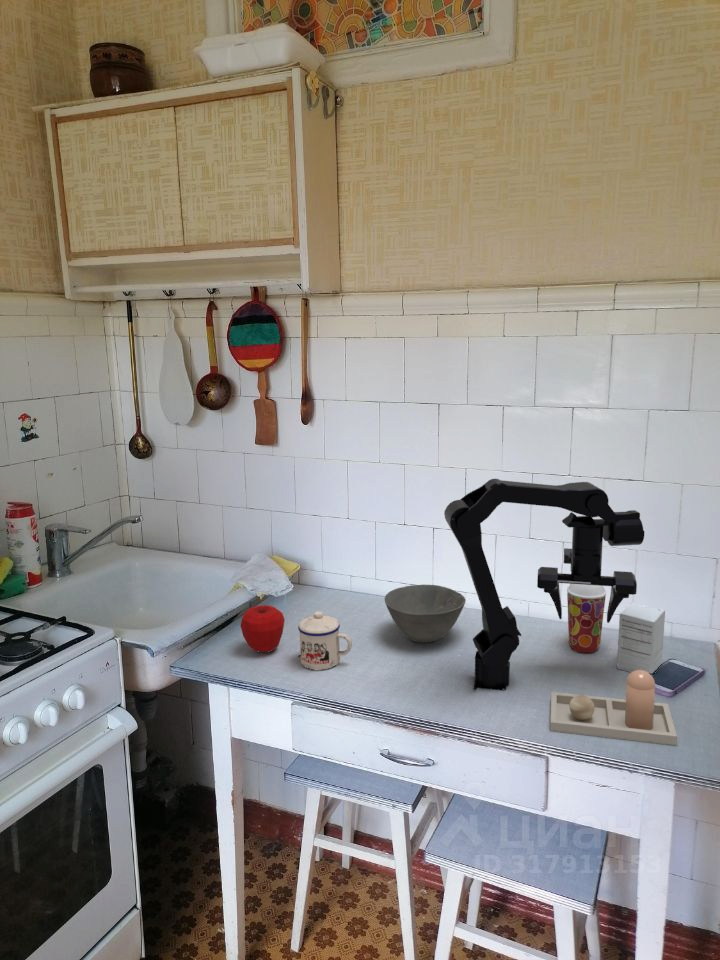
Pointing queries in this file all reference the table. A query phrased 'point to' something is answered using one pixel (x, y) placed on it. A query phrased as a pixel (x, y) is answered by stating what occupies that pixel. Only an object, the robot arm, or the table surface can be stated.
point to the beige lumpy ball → (581, 707)
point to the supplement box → (640, 638)
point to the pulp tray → (610, 720)
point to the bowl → (424, 610)
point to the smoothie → (585, 616)
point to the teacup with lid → (321, 641)
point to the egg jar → (639, 700)
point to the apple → (262, 627)
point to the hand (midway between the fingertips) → (584, 620)
